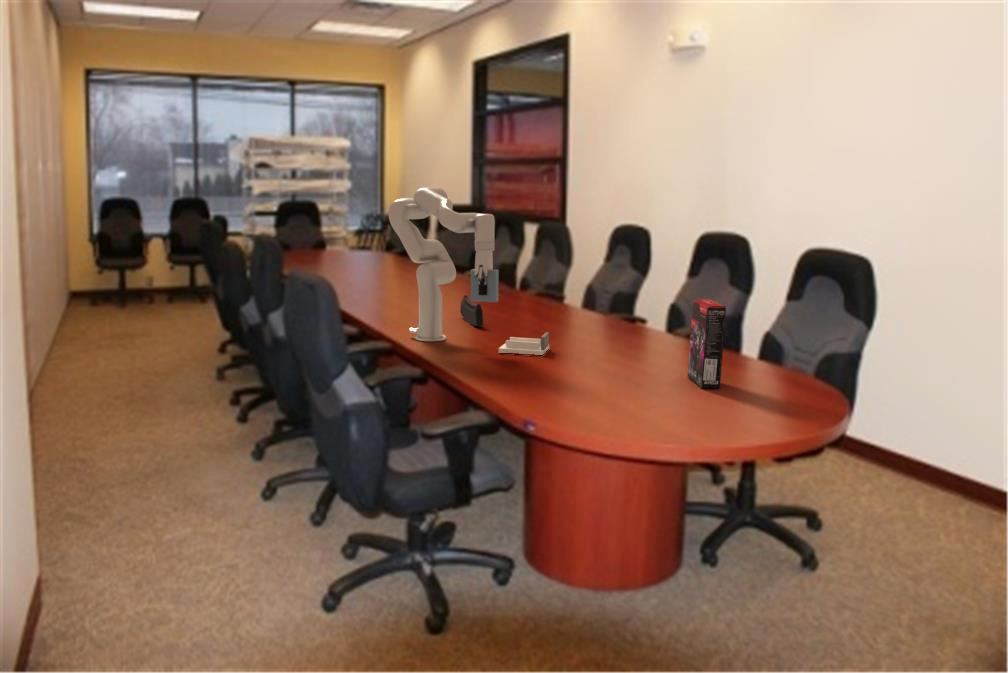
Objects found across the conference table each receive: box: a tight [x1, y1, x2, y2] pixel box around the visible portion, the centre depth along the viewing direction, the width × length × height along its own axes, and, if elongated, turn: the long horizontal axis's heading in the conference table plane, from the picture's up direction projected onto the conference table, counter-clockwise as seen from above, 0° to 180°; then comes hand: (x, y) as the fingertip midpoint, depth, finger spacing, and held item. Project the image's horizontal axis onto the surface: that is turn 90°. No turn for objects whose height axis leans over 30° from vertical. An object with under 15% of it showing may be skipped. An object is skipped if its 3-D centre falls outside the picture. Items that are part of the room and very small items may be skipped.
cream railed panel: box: [498, 332, 550, 356], centre depth 342 cm, size 17×14×7 cm
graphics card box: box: [687, 298, 727, 389], centre depth 293 cm, size 17×7×27 cm, turn 5°
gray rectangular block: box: [470, 268, 500, 303], centre depth 342 cm, size 10×4×12 cm, turn 76°
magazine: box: [459, 295, 484, 327], centre depth 404 cm, size 17×3×30 cm
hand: (484, 293), depth 342 cm, fingers closed on gray rectangular block, 4 cm apart
